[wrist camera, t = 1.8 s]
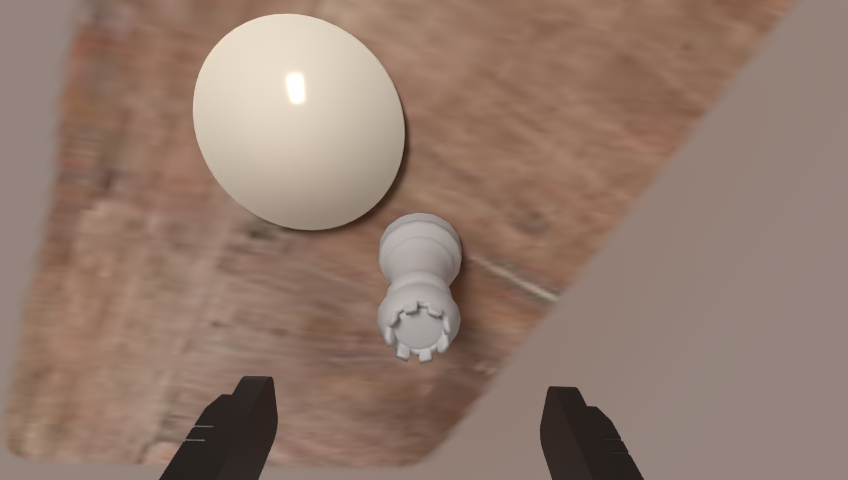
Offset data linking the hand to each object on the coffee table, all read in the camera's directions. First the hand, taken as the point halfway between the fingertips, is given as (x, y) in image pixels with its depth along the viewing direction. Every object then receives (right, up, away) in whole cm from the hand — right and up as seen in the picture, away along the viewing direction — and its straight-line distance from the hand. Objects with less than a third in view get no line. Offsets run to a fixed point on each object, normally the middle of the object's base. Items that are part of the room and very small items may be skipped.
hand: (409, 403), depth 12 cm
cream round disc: (-5, +10, +8) cm, 14 cm away
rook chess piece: (0, +4, +11) cm, 11 cm away
